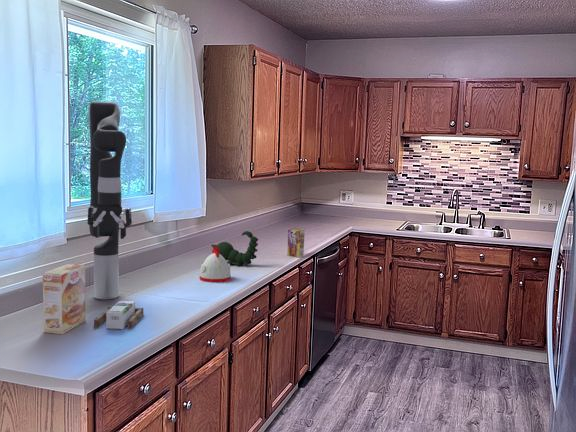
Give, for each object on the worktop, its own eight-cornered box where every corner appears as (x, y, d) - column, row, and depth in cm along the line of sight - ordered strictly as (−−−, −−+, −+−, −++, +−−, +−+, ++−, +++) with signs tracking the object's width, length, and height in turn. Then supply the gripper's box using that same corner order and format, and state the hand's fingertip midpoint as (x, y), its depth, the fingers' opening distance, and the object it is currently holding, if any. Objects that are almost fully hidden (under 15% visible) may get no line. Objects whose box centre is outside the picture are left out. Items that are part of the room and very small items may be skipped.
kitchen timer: (204, 283, 262) (205, 249, 260) (196, 276, 274) (196, 244, 272) (234, 281, 268) (235, 248, 266) (225, 274, 280) (225, 243, 278)
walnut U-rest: (108, 313, 213) (108, 306, 213) (143, 314, 213) (143, 308, 213) (93, 327, 198) (93, 320, 197) (131, 328, 198) (131, 321, 197)
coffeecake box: (63, 334, 190) (62, 274, 187) (42, 332, 191) (41, 272, 189) (86, 320, 204) (86, 264, 202) (67, 319, 206) (66, 263, 203)
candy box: (304, 256, 329) (305, 229, 327) (299, 257, 325) (299, 229, 323) (292, 254, 334) (292, 227, 333) (286, 255, 331) (287, 228, 329)
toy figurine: (257, 268, 303) (214, 259, 312) (261, 231, 300) (217, 223, 309) (250, 272, 294) (205, 262, 303) (254, 234, 291) (208, 225, 300)
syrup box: (105, 312, 196) (119, 299, 210) (105, 329, 196) (119, 315, 211) (123, 312, 196) (135, 300, 210) (123, 330, 196) (135, 316, 211)
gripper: (133, 190, 204) (133, 236, 207) (92, 188, 204) (92, 235, 207) (127, 192, 197) (127, 241, 199) (84, 190, 197) (84, 239, 199)
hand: (109, 238), depth 203 cm, fingers open, 8 cm apart
